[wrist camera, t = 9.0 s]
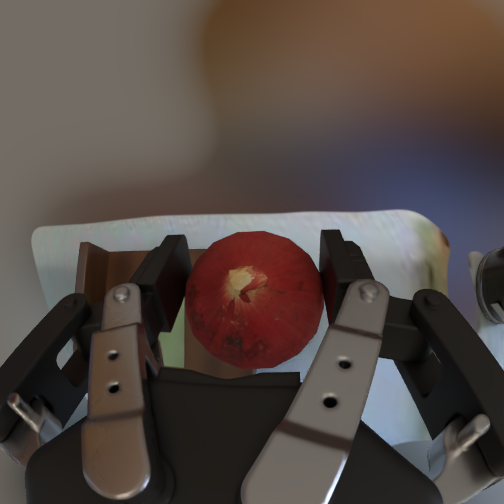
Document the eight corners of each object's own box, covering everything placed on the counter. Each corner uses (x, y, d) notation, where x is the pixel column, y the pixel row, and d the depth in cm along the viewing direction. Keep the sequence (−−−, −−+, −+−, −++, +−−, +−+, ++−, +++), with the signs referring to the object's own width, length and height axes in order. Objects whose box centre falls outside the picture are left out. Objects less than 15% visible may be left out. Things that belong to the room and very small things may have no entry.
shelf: (256, 254, 31) (248, 234, 24) (256, 398, 27) (248, 419, 20) (114, 257, 32) (80, 242, 25) (110, 382, 29) (74, 391, 22)
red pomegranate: (292, 374, 15) (298, 416, 7) (195, 336, 16) (119, 337, 8) (328, 275, 16) (364, 223, 8) (232, 242, 17) (190, 171, 9)
